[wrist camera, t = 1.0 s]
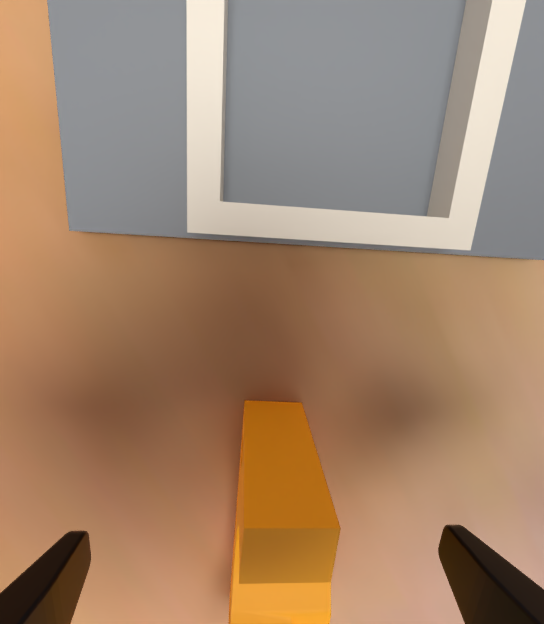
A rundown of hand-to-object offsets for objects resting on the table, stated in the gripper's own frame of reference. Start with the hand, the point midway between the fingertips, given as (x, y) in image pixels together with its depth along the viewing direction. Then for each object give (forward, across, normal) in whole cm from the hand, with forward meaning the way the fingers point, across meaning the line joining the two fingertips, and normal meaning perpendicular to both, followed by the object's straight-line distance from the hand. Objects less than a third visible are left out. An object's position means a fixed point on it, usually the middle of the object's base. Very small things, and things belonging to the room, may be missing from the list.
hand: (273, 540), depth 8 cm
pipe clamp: (+7, -1, +6) cm, 9 cm away
